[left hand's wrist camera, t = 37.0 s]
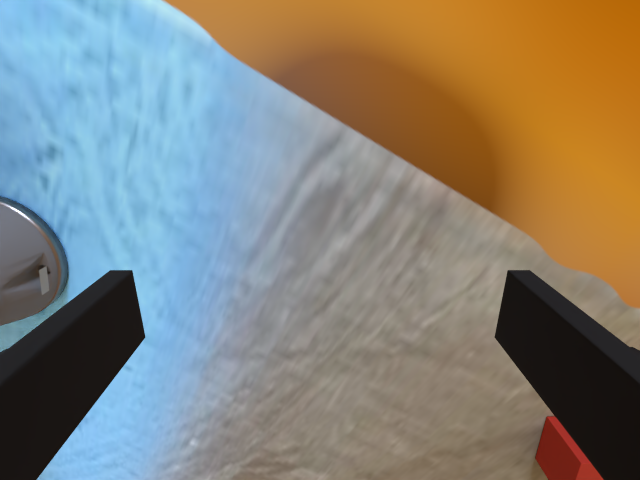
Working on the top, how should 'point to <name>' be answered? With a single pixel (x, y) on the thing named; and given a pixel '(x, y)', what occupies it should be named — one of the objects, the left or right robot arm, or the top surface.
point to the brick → (562, 455)
